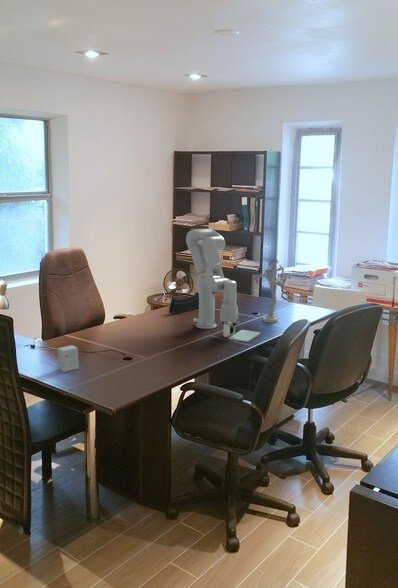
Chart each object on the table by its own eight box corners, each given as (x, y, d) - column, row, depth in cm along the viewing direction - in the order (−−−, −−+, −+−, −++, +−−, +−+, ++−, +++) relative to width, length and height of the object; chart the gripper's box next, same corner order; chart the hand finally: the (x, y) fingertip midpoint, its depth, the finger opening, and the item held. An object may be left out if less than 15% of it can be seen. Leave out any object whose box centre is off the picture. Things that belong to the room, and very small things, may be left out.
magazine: (169, 302, 382) (198, 283, 401) (166, 301, 384) (195, 282, 403) (174, 325, 389) (203, 305, 408) (171, 324, 391) (199, 305, 410)
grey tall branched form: (256, 313, 391) (258, 254, 383) (291, 316, 385) (294, 256, 377) (248, 324, 365) (250, 260, 357) (286, 327, 359) (289, 262, 351)
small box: (73, 365, 284) (72, 344, 282) (78, 368, 280) (78, 347, 278) (58, 369, 279) (57, 348, 277) (63, 372, 275) (63, 350, 273)
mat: (228, 339, 331) (228, 337, 331) (241, 331, 349) (241, 329, 349) (247, 342, 326) (247, 340, 326) (260, 333, 344) (260, 332, 343)
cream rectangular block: (223, 336, 337) (223, 324, 336) (230, 332, 346) (230, 320, 344) (227, 337, 336) (227, 325, 334) (234, 332, 345) (234, 321, 343)
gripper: (214, 301, 337) (213, 332, 341) (240, 304, 330) (239, 336, 334) (219, 299, 344) (219, 329, 347) (245, 302, 337) (244, 333, 340)
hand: (229, 332), depth 341 cm, fingers closed on cream rectangular block, 2 cm apart
